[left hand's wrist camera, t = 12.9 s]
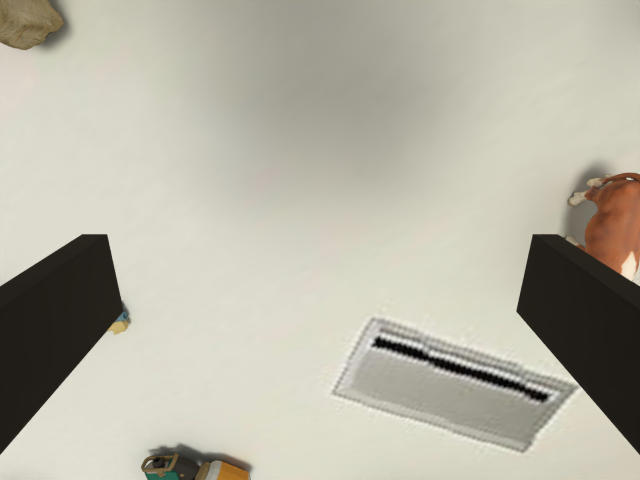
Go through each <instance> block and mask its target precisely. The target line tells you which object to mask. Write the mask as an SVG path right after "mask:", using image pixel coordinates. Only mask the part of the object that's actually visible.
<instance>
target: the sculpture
mask: <svg viewBox="0 0 640 480" xmlns="http://www.w3.org/2000/svg"><path fill="white" fill-rule="evenodd" d="M63 24H64V21H63V19H62V17H61V16H60V14H59V13H58V12H56V11H55V10H54V9H53V8H52V7H51V5H50V3H49V1H48V0H0V42H1V43H3V44H5V45H8V46H10V47H13V48H18V49H22V50H27V49H30V48H32V47H33V46H34V45H39V44H41V43H42V42H44V41H45V40H46V36H47V34H48V33H49V32H56V31H58V30H59V29H60V28H61V26H62V25H63Z"/></svg>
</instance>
